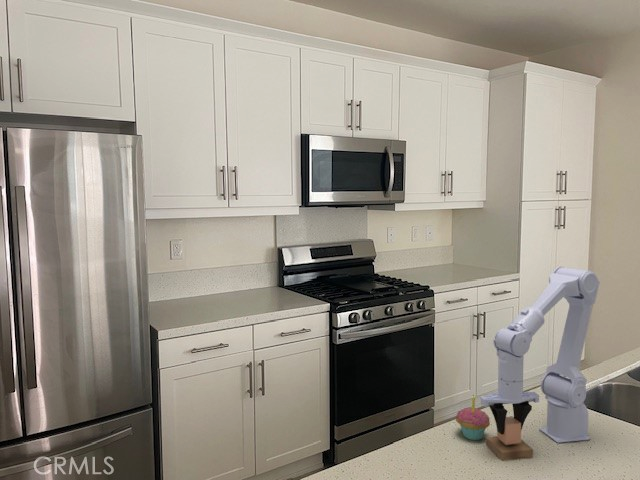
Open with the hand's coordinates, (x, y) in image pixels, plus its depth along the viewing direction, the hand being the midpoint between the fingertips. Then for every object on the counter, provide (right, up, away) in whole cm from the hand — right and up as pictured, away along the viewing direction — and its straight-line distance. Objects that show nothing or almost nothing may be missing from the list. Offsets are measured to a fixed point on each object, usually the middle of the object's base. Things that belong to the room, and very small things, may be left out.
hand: (509, 431), depth 126 cm
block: (0, -2, 0) cm, 2 cm away
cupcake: (-7, -5, +9) cm, 12 cm away
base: (0, -5, 0) cm, 5 cm away
